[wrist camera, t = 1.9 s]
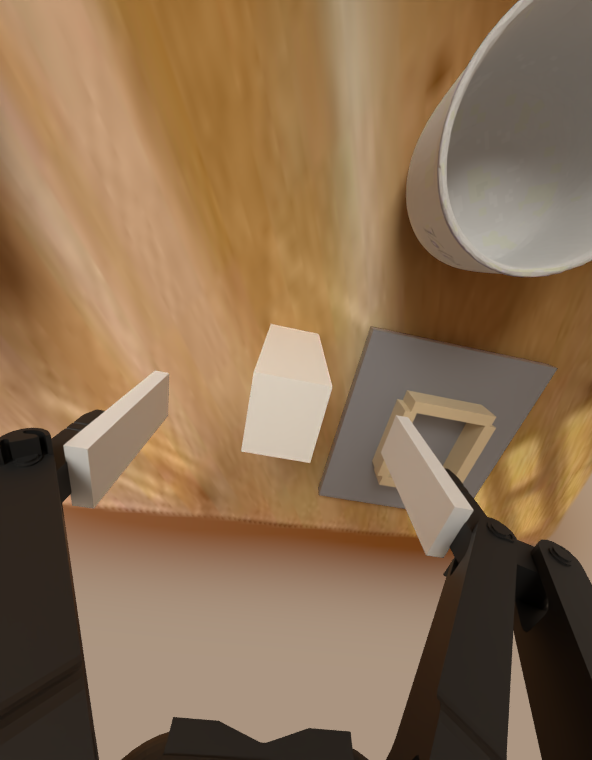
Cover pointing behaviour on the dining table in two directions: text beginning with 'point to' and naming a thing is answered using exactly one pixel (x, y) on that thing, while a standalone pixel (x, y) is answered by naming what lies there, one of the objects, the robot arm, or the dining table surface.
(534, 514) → the dining table surface
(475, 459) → the socket plate
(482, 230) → the teacup
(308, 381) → the plug
